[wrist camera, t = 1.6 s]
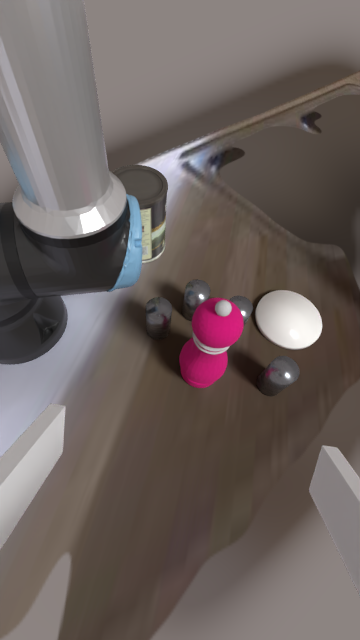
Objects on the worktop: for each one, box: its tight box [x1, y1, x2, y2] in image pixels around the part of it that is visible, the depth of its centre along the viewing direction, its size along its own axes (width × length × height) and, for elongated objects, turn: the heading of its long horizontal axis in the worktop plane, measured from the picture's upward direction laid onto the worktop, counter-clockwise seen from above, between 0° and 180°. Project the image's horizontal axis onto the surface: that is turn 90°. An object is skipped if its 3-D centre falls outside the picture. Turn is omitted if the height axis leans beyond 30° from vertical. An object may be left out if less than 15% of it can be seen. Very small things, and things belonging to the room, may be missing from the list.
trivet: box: [255, 290, 322, 350], centre depth 54 cm, size 12×12×1 cm
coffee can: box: [111, 165, 168, 263], centre depth 54 cm, size 10×10×14 cm
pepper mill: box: [179, 298, 244, 388], centre depth 39 cm, size 7×7×20 cm
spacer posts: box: [146, 280, 299, 396], centre depth 47 cm, size 20×18×7 cm
